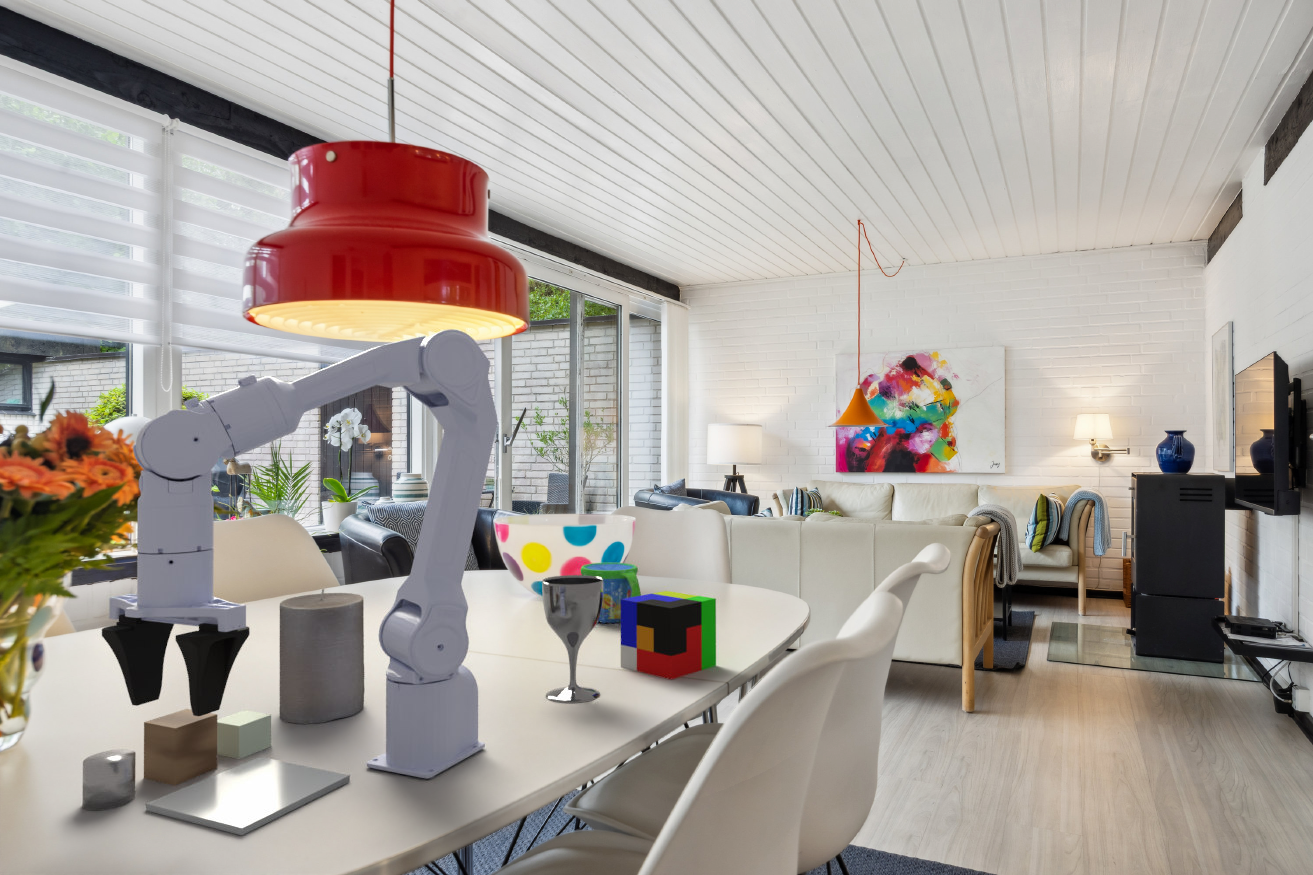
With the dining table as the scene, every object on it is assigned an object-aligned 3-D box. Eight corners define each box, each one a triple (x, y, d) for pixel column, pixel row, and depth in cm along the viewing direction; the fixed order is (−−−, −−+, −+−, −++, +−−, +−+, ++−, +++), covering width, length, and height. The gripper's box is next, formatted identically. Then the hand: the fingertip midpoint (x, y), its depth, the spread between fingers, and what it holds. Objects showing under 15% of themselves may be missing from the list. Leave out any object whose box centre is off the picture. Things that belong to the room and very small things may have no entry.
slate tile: (260, 762, 83) (259, 756, 83) (349, 781, 79) (349, 775, 79) (145, 810, 72) (145, 803, 72) (242, 835, 68) (242, 827, 68)
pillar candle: (302, 698, 105) (301, 582, 105) (376, 698, 105) (376, 582, 105) (263, 725, 95) (262, 596, 95) (345, 725, 95) (344, 596, 95)
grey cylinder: (117, 788, 77) (117, 746, 77) (145, 796, 75) (145, 753, 75) (72, 806, 73) (72, 761, 73) (100, 814, 72) (101, 768, 72)
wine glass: (535, 690, 108) (535, 577, 109) (592, 683, 112) (591, 573, 112) (551, 707, 101) (551, 586, 101) (612, 699, 104) (611, 582, 105)
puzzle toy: (620, 667, 120) (620, 599, 120) (666, 654, 128) (666, 590, 128) (671, 679, 113) (670, 608, 114) (716, 666, 121) (715, 598, 121)
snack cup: (656, 623, 150) (656, 568, 151) (609, 630, 144) (609, 573, 144) (609, 610, 163) (609, 559, 163) (563, 616, 157) (563, 563, 157)
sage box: (244, 741, 90) (244, 709, 90) (271, 746, 88) (271, 714, 88) (212, 754, 86) (212, 721, 86) (239, 759, 85) (239, 726, 85)
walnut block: (186, 762, 84) (186, 708, 84) (217, 769, 82) (217, 714, 82) (143, 778, 80) (144, 721, 80) (175, 785, 78) (175, 728, 78)
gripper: (74, 551, 70) (73, 710, 70) (193, 560, 64) (192, 732, 64) (152, 543, 76) (151, 688, 76) (266, 549, 71) (266, 706, 71)
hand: (175, 707), depth 71 cm, fingers open, 7 cm apart
